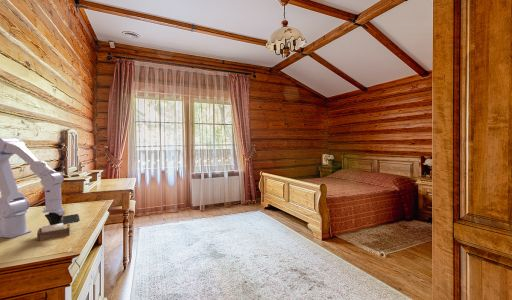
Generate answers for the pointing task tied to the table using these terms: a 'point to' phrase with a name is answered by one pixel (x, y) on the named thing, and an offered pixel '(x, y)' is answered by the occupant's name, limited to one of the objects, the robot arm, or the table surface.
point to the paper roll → (52, 227)
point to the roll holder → (53, 233)
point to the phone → (70, 219)
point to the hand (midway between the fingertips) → (55, 228)
